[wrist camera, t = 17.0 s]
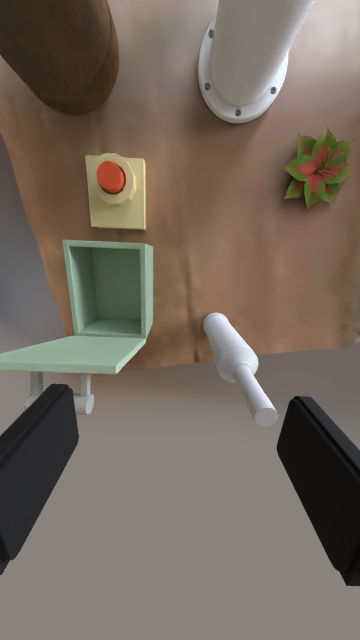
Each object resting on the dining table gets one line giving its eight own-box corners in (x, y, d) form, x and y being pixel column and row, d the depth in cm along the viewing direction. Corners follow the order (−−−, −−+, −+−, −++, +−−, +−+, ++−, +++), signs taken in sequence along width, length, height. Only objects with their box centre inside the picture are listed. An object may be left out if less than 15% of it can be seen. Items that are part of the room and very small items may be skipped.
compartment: (89, 243, 36) (61, 239, 28) (153, 246, 36) (145, 243, 28) (95, 320, 40) (74, 336, 32) (152, 322, 41) (146, 339, 32)
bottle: (226, 335, 42) (292, 440, 18) (202, 335, 42) (233, 441, 18) (228, 311, 40) (301, 391, 16) (202, 311, 40) (237, 392, 16)
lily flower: (338, 216, 35) (360, 210, 30) (271, 209, 34) (284, 202, 30) (363, 132, 31) (393, 111, 27) (288, 123, 31) (307, 100, 26)
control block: (89, 160, 32) (79, 149, 29) (145, 163, 32) (141, 152, 29) (95, 227, 35) (86, 224, 32) (145, 230, 35) (142, 227, 32)
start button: (100, 165, 30) (95, 159, 28) (124, 166, 30) (120, 161, 28) (101, 192, 31) (97, 189, 29) (125, 194, 31) (122, 190, 29)
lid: (-28, 359, 16) (-27, 424, 16) (116, 365, 16) (114, 429, 17) (72, 335, 32) (72, 369, 32) (145, 338, 32) (144, 371, 32)
